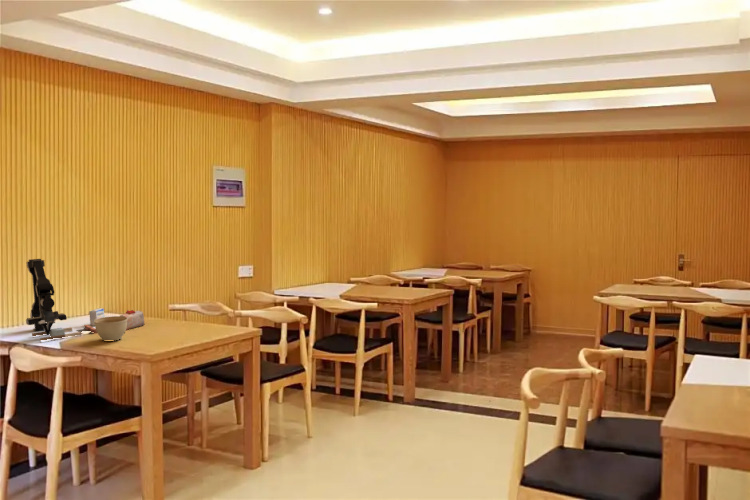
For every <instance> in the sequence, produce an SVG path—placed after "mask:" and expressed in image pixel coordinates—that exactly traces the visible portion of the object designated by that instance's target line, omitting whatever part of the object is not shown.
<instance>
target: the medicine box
mask: <svg viewBox="0 0 750 500" xmlns="http://www.w3.org/2000/svg"><path fill="white" fill-rule="evenodd" d="M88 313H89V324H90V325H89V326H91V327H95V323H94V320H96V319H99V318H104V317H105V309H104V308H101V307H100V308H95V309H92V310H89V312H88Z"/></svg>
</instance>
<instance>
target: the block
mask: <svg viewBox="0 0 750 500" xmlns="http://www.w3.org/2000/svg"><path fill="white" fill-rule="evenodd" d="M63 334H66V332H65V331H64V329H63V327H57V328H51V329H50V335H49V337H50V336H57V335H63Z"/></svg>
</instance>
